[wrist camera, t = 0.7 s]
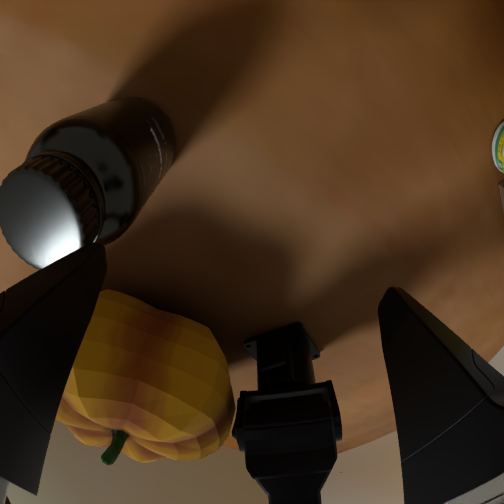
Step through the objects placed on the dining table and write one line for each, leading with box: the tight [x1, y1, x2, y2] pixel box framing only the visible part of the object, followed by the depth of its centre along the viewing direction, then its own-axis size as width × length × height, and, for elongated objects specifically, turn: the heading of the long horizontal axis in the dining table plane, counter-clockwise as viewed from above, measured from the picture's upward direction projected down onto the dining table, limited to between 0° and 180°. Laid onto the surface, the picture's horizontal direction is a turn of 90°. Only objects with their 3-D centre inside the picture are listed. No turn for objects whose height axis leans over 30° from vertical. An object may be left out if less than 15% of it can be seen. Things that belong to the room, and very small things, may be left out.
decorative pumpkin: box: [55, 289, 236, 465], centre depth 25 cm, size 20×22×15 cm
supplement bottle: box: [0, 97, 176, 270], centre depth 15 cm, size 7×7×12 cm
